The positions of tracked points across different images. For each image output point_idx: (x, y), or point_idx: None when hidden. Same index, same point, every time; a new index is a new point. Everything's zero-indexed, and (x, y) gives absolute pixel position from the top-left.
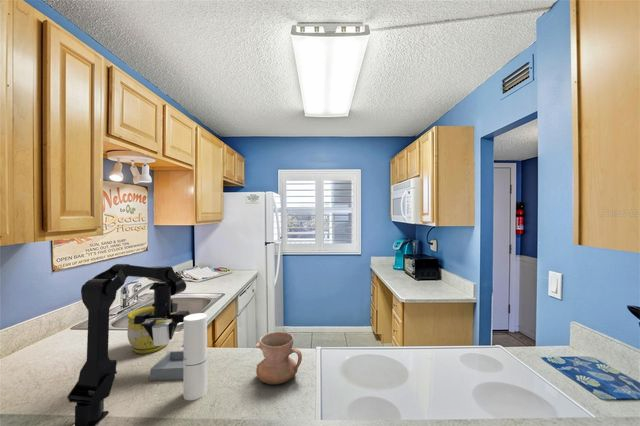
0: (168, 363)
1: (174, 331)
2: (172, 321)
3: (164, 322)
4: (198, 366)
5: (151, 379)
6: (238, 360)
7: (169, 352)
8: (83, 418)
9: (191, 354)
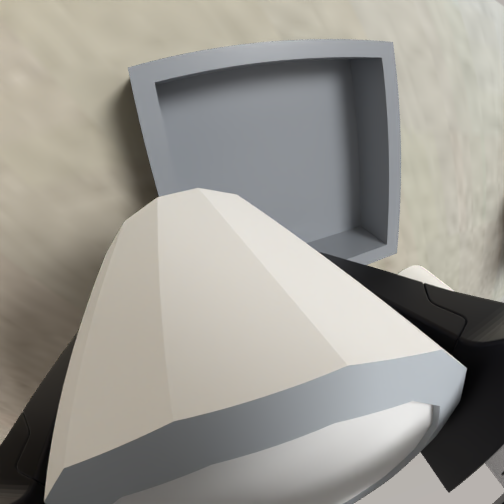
0: (170, 130)
1: (397, 276)
2: (501, 464)
3: (213, 465)
4: None
5: None
6: (473, 78)
7: (144, 88)
8: None
9: None
